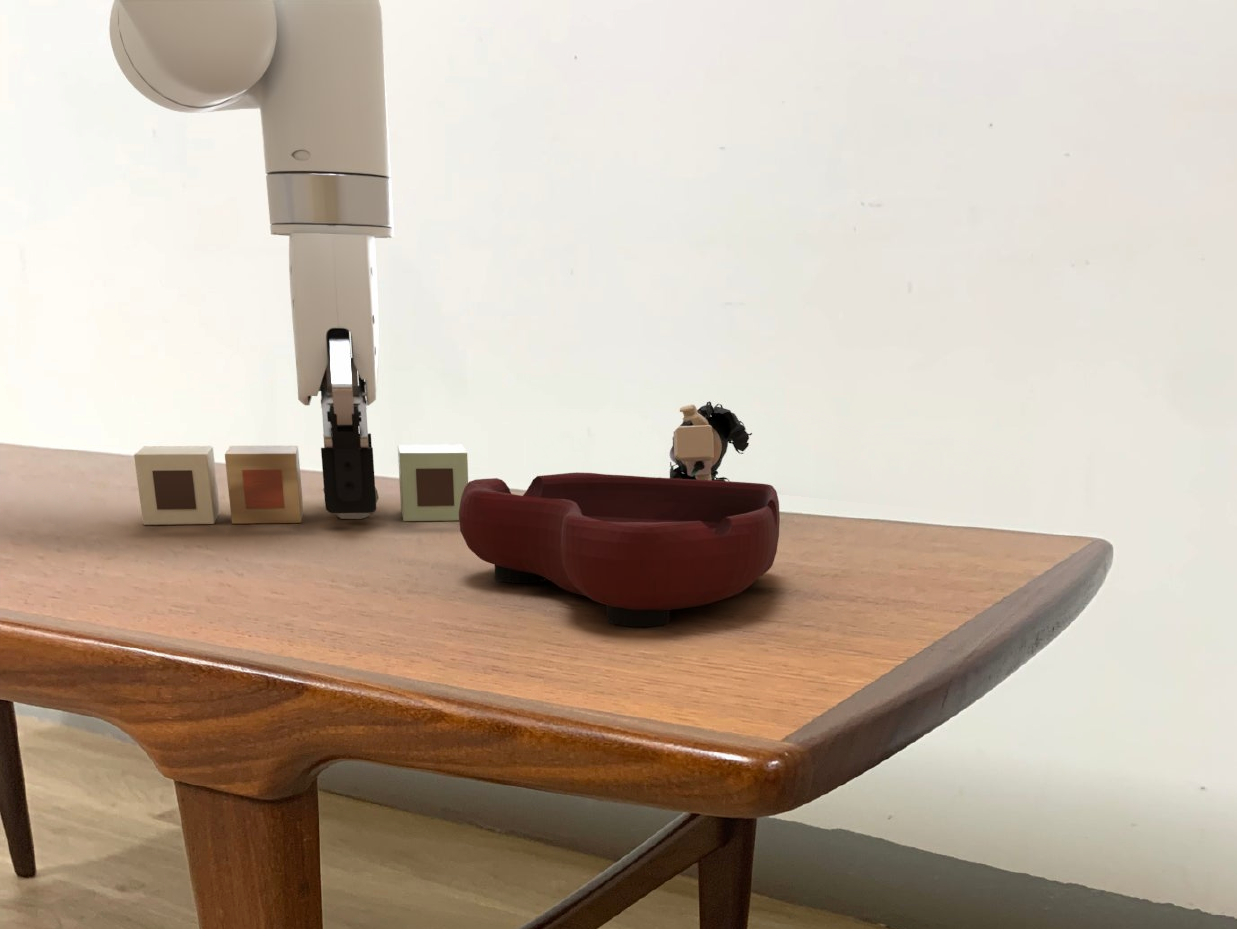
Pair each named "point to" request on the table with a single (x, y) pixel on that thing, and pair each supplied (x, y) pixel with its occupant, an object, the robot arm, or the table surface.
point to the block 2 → (264, 484)
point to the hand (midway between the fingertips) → (351, 500)
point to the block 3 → (432, 481)
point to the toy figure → (705, 441)
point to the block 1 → (177, 485)
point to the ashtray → (626, 538)
